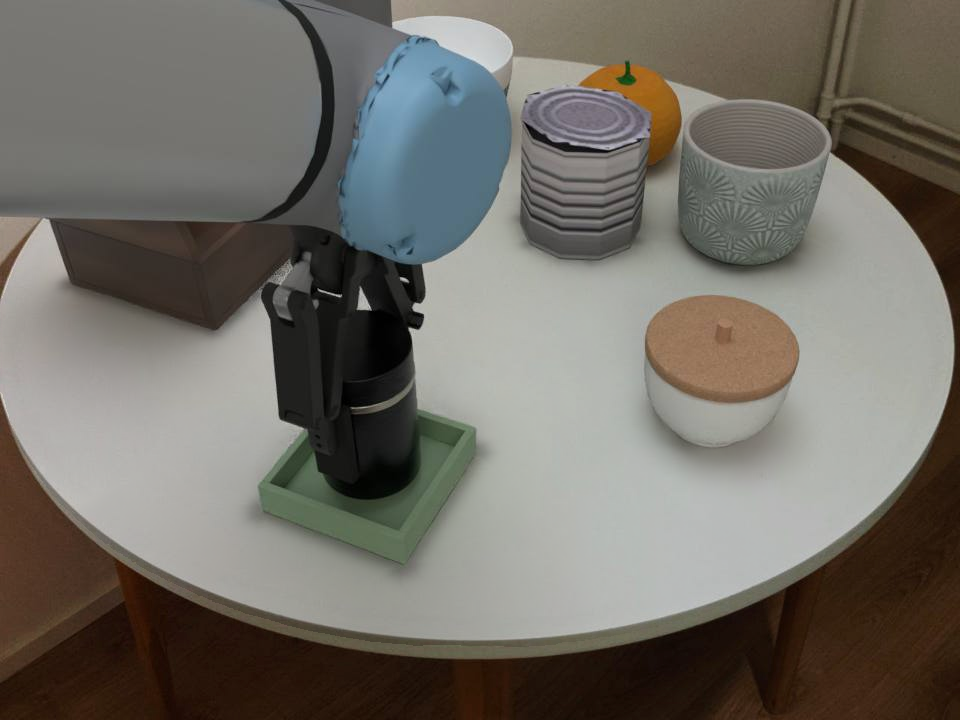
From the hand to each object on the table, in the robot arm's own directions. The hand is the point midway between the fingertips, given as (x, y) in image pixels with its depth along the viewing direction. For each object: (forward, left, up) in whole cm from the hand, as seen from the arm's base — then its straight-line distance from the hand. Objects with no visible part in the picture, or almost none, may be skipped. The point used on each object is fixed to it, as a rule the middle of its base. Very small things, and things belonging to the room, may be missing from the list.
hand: (367, 435), depth 72 cm
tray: (0, 0, -5) cm, 5 cm away
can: (+36, -2, -5) cm, 36 cm away
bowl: (+46, +18, -5) cm, 50 cm away
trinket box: (+16, -20, -5) cm, 26 cm away
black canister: (0, 0, -3) cm, 3 cm away
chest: (+19, +28, -5) cm, 34 cm away
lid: (+7, +28, +13) cm, 32 cm away
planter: (+40, -16, -5) cm, 43 cm away
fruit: (+50, -1, -5) cm, 50 cm away
